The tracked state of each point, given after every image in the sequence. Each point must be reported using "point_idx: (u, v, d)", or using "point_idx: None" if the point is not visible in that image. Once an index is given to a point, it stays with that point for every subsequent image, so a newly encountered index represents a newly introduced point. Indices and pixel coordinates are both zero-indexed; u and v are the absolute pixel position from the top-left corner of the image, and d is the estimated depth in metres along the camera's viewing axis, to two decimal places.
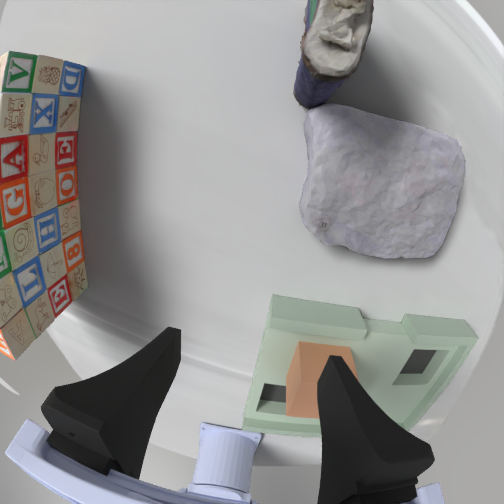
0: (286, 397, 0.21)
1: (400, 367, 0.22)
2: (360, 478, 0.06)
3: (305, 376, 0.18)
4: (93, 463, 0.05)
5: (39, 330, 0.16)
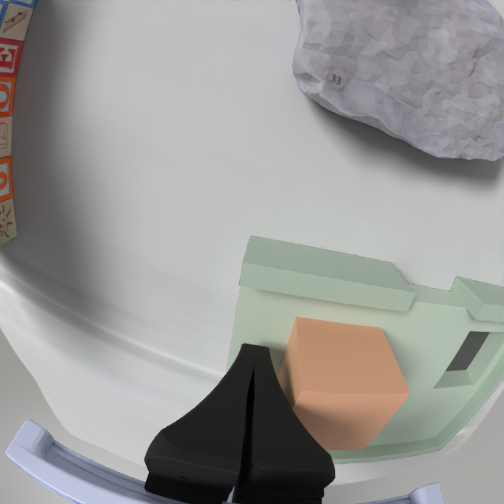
0: None
1: (448, 360, 0.13)
2: (245, 476, 0.06)
3: (309, 378, 0.09)
4: (206, 500, 0.05)
5: None
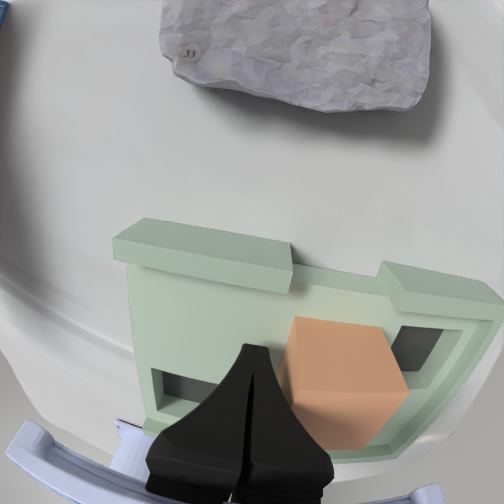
0: None
1: None
2: (244, 476, 0.06)
3: (308, 377, 0.09)
4: (207, 500, 0.05)
5: None
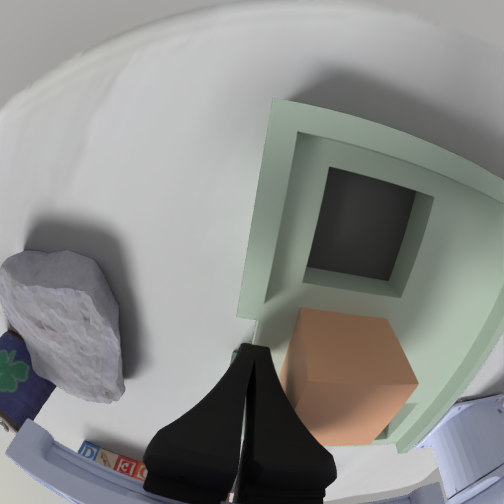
0: None
1: (350, 296, 0.12)
2: (246, 476, 0.06)
3: None
4: (204, 500, 0.05)
5: None
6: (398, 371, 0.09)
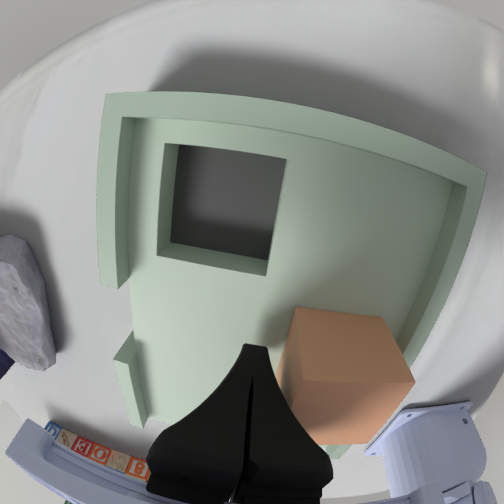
0: None
1: (206, 271, 0.12)
2: (243, 476, 0.06)
3: None
4: (207, 501, 0.05)
5: None
6: (394, 369, 0.09)
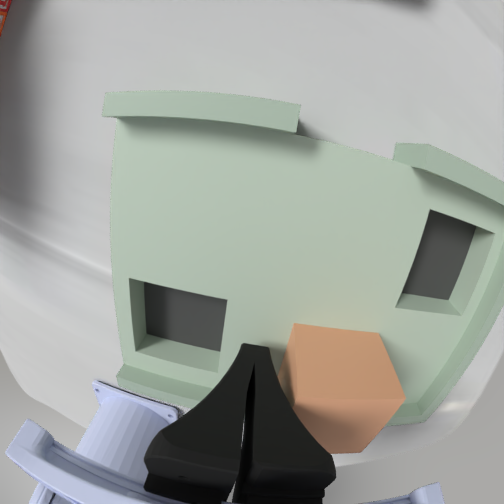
0: None
1: (408, 257, 0.11)
2: (246, 476, 0.06)
3: (305, 385, 0.09)
4: (205, 500, 0.05)
5: None
6: None
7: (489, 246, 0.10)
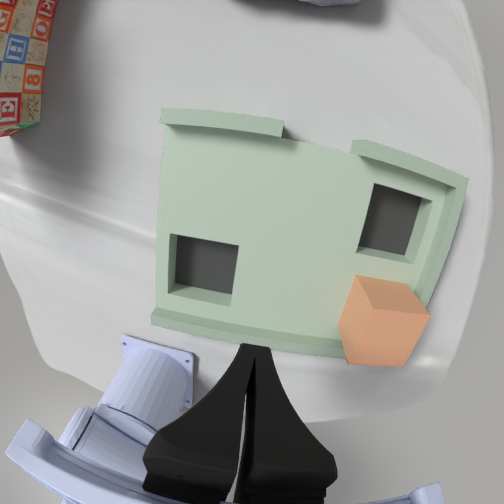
0: (343, 344, 0.18)
1: (361, 216, 0.17)
2: (247, 476, 0.06)
3: (375, 303, 0.15)
4: (204, 500, 0.05)
5: None
6: None
7: (429, 211, 0.17)
